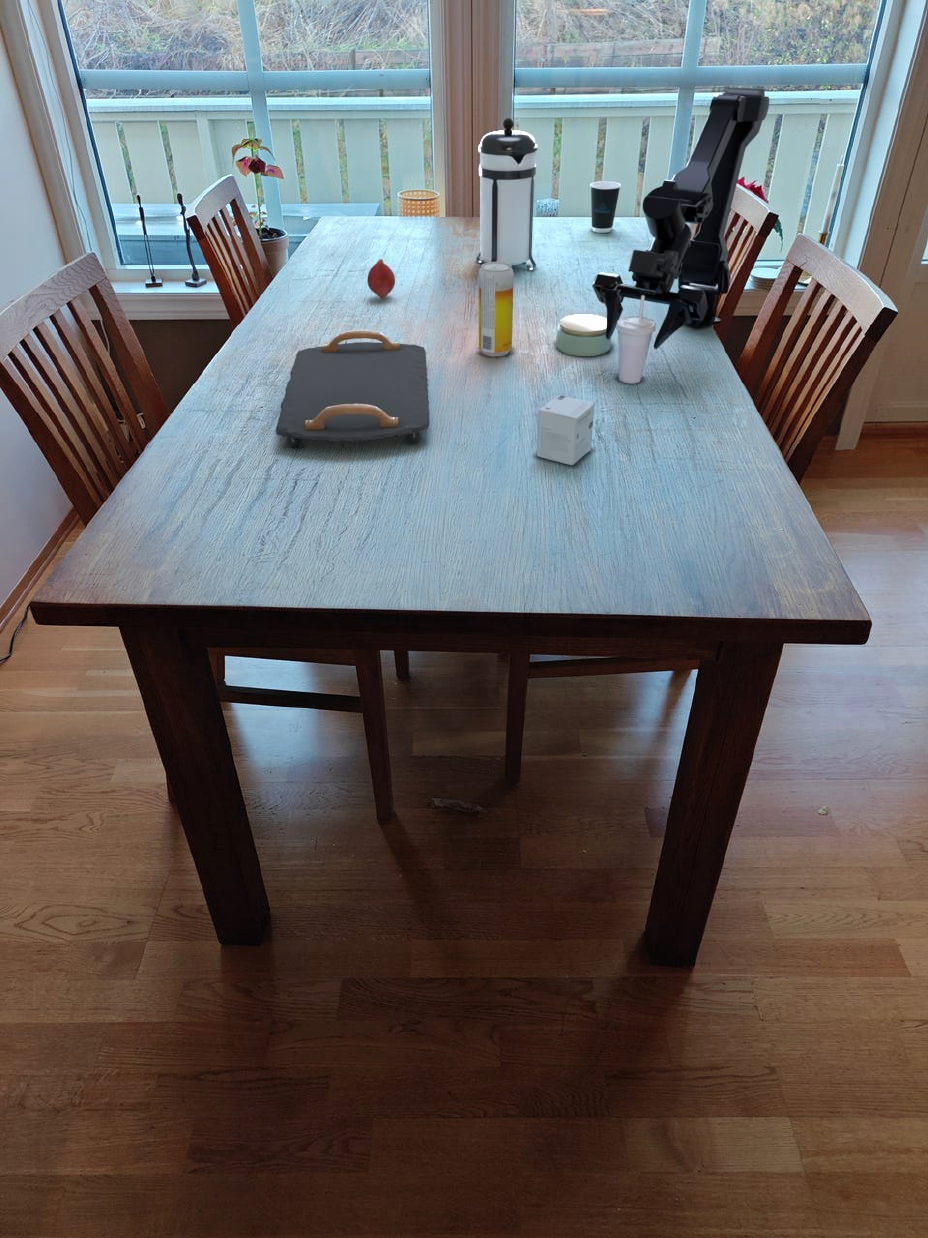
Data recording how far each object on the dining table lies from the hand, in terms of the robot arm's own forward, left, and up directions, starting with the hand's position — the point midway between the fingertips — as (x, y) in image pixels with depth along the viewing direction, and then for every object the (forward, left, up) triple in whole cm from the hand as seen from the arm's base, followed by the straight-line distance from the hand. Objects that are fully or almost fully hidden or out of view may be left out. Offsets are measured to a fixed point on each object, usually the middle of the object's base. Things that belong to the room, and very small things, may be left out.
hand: (630, 342), depth 138 cm
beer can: (+11, -24, -7) cm, 27 cm away
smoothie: (-1, -1, -7) cm, 7 cm away
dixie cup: (-60, -80, -7) cm, 100 cm away
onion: (+14, -63, -7) cm, 65 cm away
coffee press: (-21, -69, -7) cm, 73 cm away
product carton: (+25, +15, -7) cm, 30 cm away
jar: (-4, -17, -7) cm, 19 cm away
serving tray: (+42, -18, -7) cm, 46 cm away
